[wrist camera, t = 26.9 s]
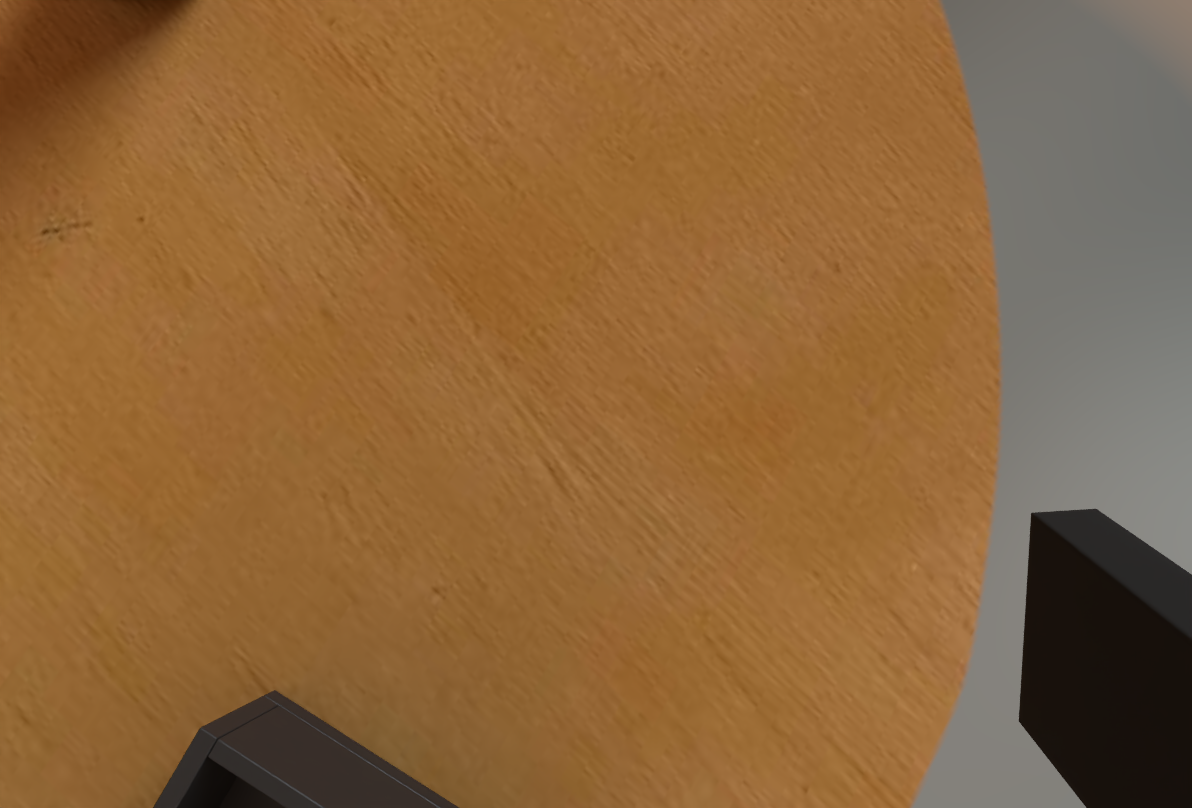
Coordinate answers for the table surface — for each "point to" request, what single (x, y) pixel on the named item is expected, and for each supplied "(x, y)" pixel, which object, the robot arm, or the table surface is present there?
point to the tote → (286, 765)
